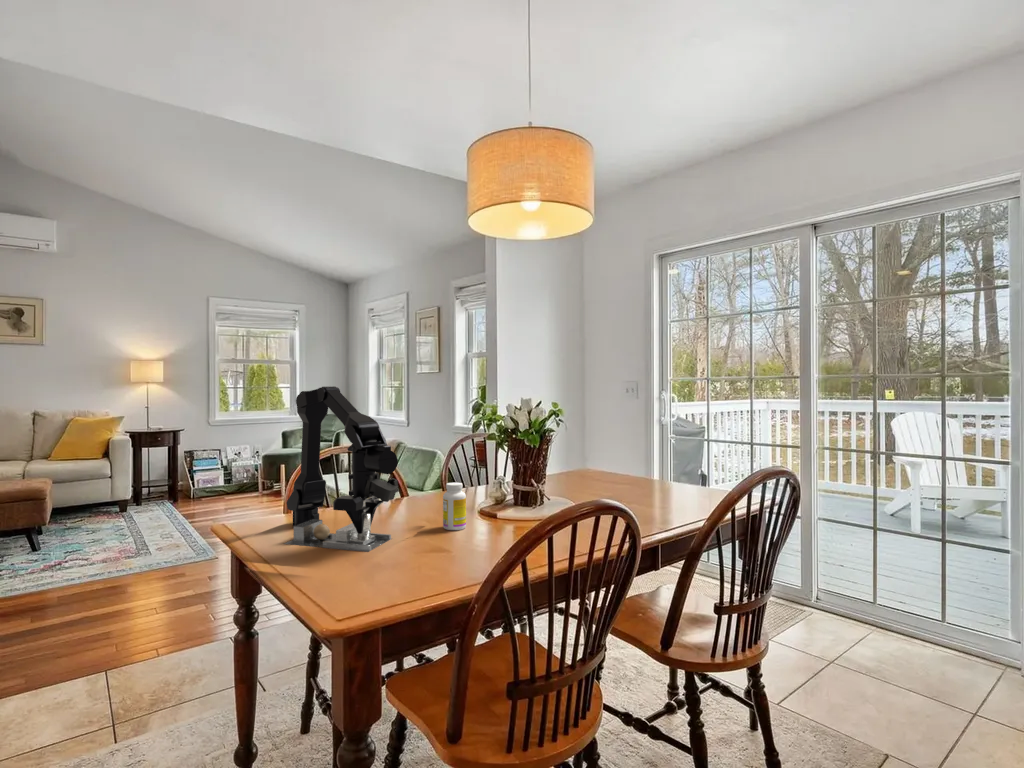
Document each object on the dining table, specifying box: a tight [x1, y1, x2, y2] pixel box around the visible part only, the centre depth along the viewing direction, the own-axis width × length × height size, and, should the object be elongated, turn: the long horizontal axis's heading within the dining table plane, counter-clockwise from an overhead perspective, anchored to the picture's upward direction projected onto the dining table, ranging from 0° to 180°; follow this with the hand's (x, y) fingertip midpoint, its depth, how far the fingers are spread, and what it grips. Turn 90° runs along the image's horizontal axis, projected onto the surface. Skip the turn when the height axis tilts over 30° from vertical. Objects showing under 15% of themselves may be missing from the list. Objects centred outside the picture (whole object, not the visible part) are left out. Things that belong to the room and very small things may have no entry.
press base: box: [283, 519, 392, 553], centre depth 147 cm, size 24×12×6 cm, turn 74°
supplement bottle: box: [442, 482, 467, 531], centre depth 166 cm, size 7×7×13 cm
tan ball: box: [313, 523, 331, 540], centre depth 149 cm, size 4×4×4 cm
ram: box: [335, 512, 375, 545], centre depth 146 cm, size 7×8×7 cm
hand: (363, 531), depth 145 cm, fingers closed on ram, 3 cm apart
